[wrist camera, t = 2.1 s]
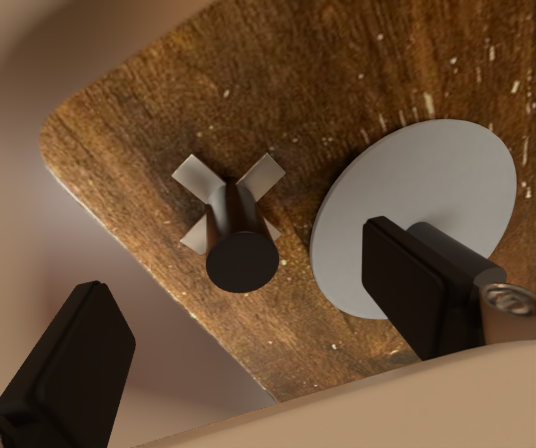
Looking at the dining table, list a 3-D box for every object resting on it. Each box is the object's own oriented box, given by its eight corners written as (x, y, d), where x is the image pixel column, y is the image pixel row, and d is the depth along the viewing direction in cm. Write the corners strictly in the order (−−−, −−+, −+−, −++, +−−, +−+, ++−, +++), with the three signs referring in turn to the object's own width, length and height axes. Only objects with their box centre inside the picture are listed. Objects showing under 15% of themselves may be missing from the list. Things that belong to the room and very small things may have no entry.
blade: (142, 202, 16) (100, 277, 9) (227, 110, 14) (242, 127, 8) (231, 266, 19) (244, 354, 12) (307, 195, 17) (362, 254, 11)
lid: (320, 115, 15) (388, 131, 10) (538, 119, 18) (691, 134, 13) (297, 320, 22) (329, 402, 16) (459, 299, 25) (534, 362, 19)
